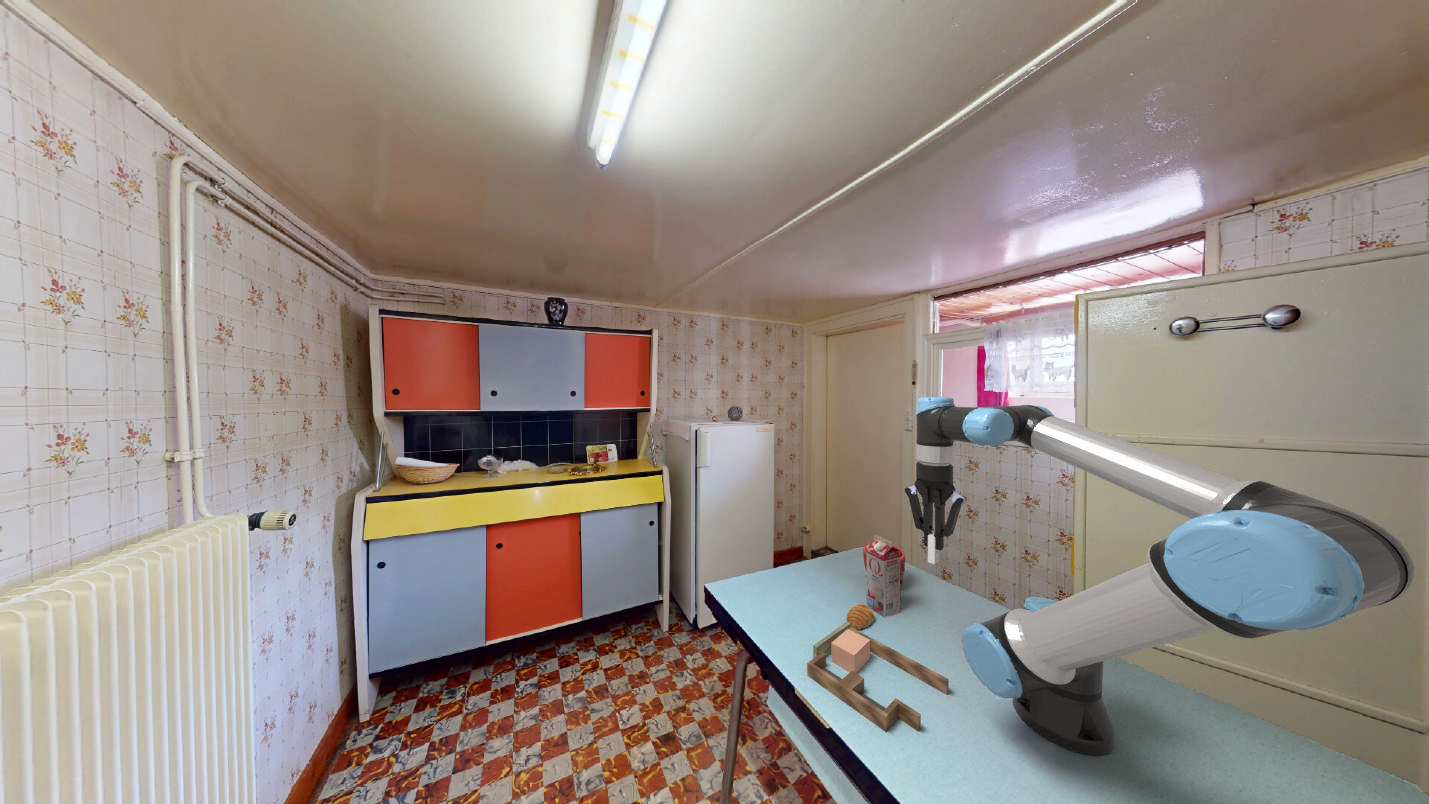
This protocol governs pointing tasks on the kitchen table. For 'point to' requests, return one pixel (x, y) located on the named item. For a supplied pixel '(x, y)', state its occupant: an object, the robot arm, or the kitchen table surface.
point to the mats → (860, 694)
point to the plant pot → (902, 562)
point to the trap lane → (854, 683)
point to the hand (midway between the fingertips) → (933, 561)
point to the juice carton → (883, 577)
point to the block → (850, 651)
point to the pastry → (860, 616)
